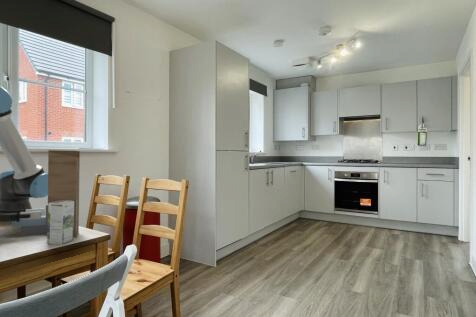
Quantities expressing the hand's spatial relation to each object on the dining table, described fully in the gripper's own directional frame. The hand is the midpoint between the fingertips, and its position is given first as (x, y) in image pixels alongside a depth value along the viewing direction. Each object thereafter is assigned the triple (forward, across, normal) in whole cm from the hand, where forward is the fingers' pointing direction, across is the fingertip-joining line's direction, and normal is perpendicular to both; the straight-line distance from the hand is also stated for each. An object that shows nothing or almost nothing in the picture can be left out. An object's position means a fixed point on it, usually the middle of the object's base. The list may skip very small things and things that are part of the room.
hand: (42, 213), depth 115 cm
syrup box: (+9, +18, -8) cm, 22 cm away
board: (0, 0, -8) cm, 8 cm away
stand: (+9, +10, -8) cm, 15 cm away
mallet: (-1, 0, -4) cm, 5 cm away
